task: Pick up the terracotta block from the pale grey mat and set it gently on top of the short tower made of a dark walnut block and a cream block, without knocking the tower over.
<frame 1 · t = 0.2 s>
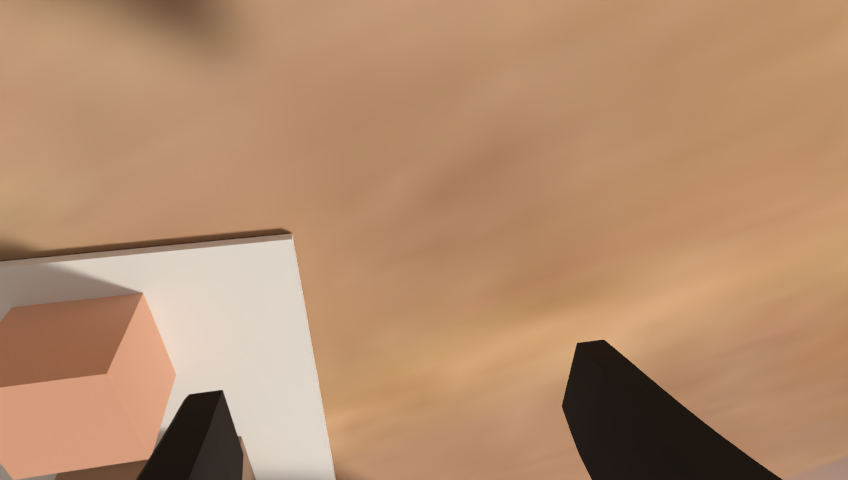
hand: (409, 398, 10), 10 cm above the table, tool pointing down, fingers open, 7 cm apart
terracotta block: (100, 343, 20), resting on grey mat
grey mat: (149, 429, 23), on the table
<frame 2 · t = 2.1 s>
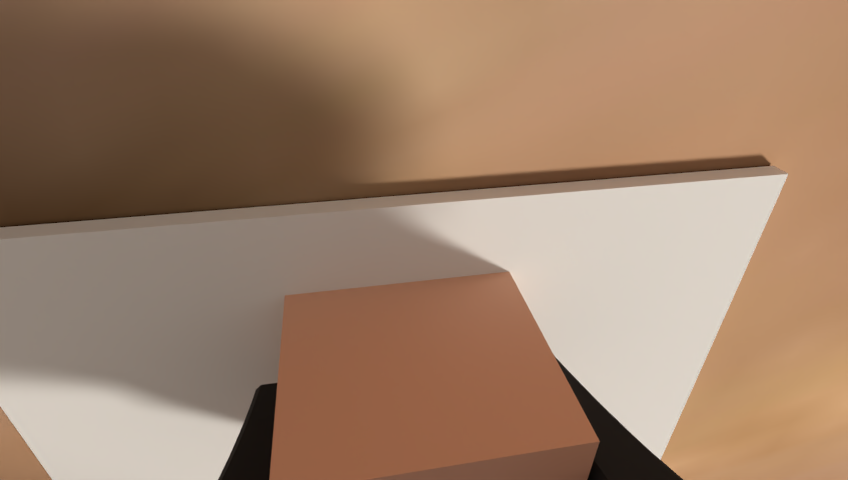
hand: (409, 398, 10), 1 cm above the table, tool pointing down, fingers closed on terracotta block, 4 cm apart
terracotta block: (402, 362, 11), resting on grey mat, touching gripper
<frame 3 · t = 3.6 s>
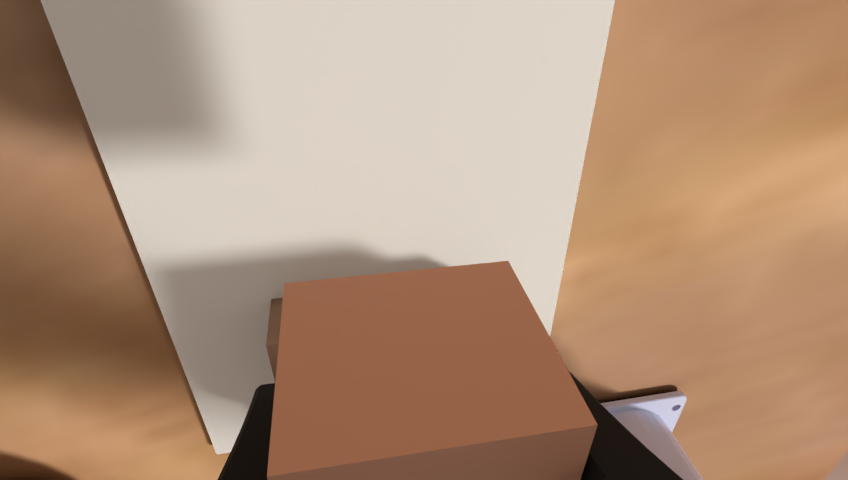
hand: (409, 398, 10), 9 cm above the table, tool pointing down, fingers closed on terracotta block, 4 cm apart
walnut base block: (379, 357, 22), resting on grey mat, touching cream block
terracotta block: (401, 351, 11), point 8 cm above the table, touching gripper
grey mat: (372, 261, 20), on the table
when the fingers open (7 cm above the table, at t = 5.1 s): terracotta block stays where it is, resting on cream block.
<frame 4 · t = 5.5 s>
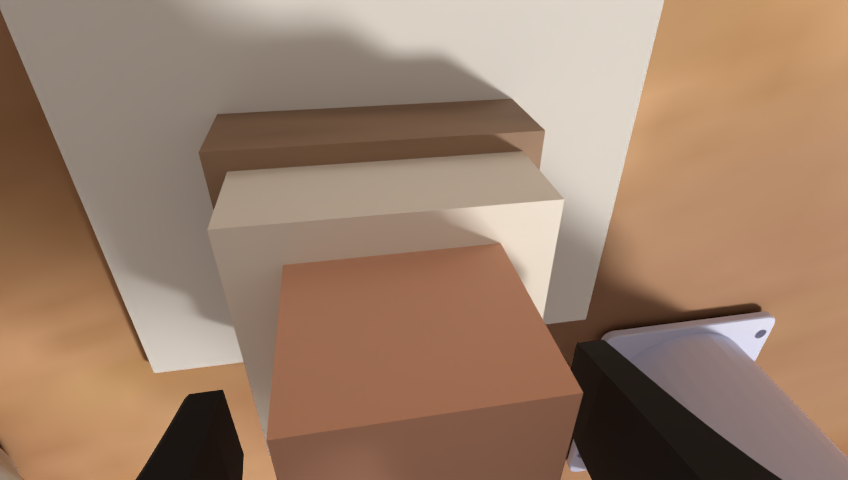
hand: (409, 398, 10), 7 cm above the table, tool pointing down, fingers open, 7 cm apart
walnut base block: (377, 230, 16), resting on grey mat, touching cream block
terracotta block: (398, 333, 11), point 5 cm above the table, touching cream block
cream block: (387, 278, 14), point 3 cm above the table, touching terracotta block, walnut base block
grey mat: (367, 64, 13), on the table
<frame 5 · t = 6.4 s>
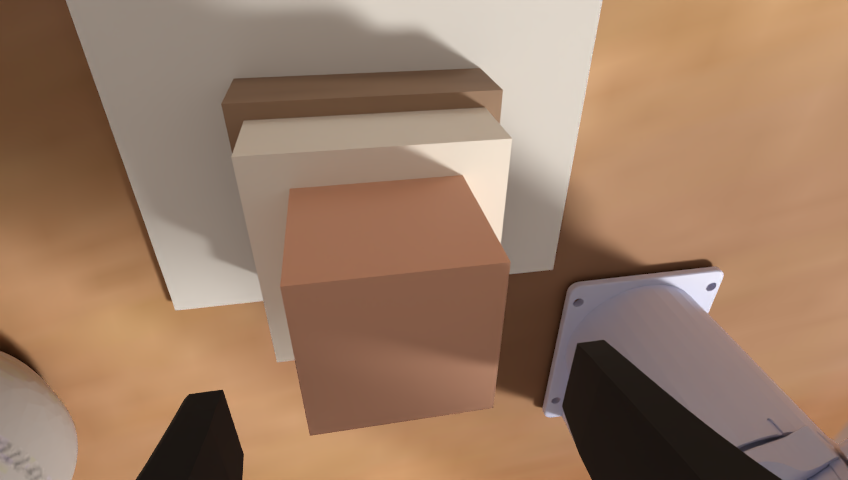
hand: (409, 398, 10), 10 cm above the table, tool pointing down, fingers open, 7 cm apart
walnut base block: (368, 183, 18), resting on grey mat, touching cream block
terracotta block: (382, 252, 14), point 5 cm above the table, touching cream block
cream block: (374, 217, 16), point 3 cm above the table, touching terracotta block, walnut base block
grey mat: (358, 38, 16), on the table
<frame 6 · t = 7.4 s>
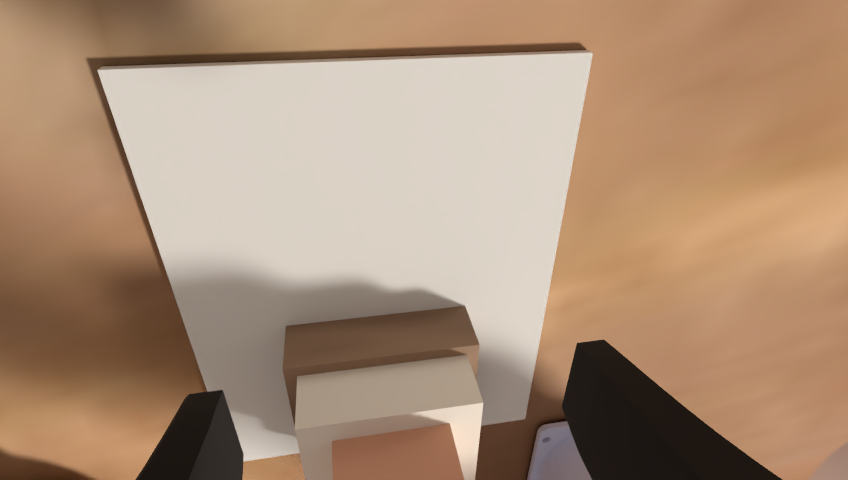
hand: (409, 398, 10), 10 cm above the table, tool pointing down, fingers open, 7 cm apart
walnut base block: (381, 377, 24), resting on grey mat, touching cream block
terracotta block: (393, 466, 20), point 5 cm above the table, touching cream block
cream block: (387, 419, 22), point 3 cm above the table, touching terracotta block, walnut base block
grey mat: (376, 292, 22), on the table
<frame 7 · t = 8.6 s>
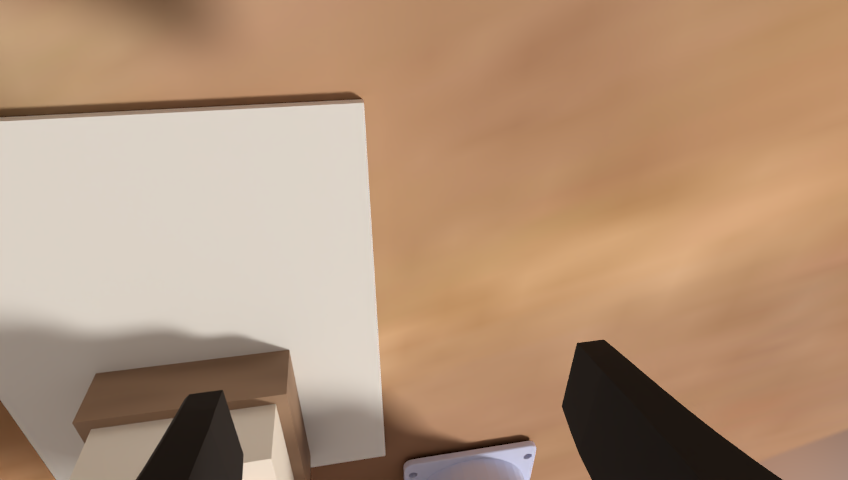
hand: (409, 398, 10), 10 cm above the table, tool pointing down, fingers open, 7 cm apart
walnut base block: (215, 419, 24), resting on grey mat, touching cream block
cream block: (206, 467, 22), point 3 cm above the table, touching terracotta block, walnut base block
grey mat: (191, 338, 22), on the table
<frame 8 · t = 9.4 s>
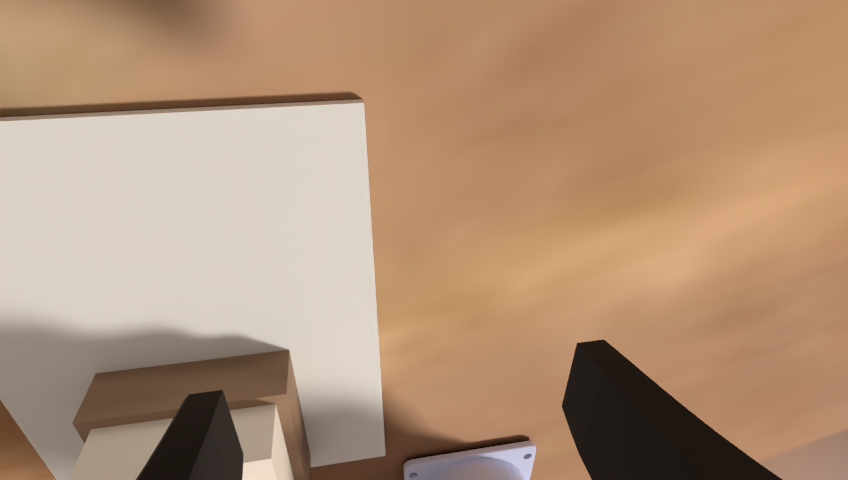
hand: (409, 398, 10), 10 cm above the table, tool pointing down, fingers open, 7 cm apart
walnut base block: (215, 419, 24), resting on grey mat, touching cream block
cream block: (206, 467, 22), point 3 cm above the table, touching terracotta block, walnut base block
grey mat: (191, 338, 22), on the table
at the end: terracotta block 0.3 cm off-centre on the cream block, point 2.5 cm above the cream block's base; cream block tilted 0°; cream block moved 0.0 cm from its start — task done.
